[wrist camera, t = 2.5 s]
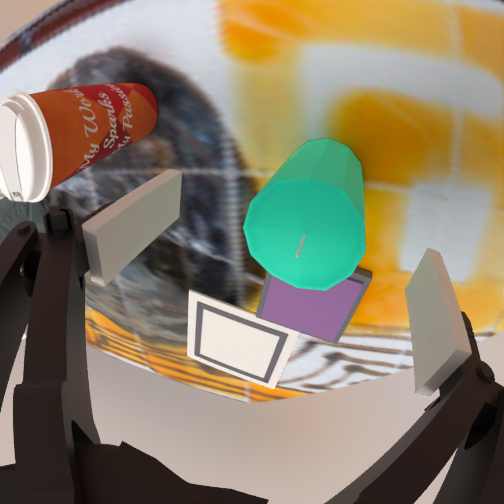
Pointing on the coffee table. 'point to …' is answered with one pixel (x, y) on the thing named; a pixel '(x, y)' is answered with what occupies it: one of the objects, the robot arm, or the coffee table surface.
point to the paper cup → (67, 133)
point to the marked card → (237, 340)
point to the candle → (310, 217)
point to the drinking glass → (19, 215)
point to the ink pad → (313, 305)
